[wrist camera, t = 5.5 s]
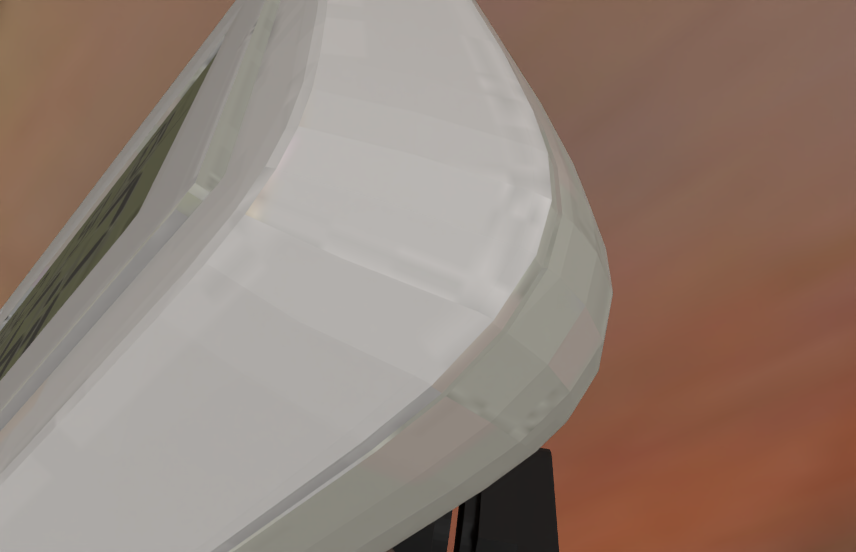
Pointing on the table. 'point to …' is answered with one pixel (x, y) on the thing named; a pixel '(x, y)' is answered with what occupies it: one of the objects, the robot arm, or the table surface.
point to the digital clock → (304, 296)
